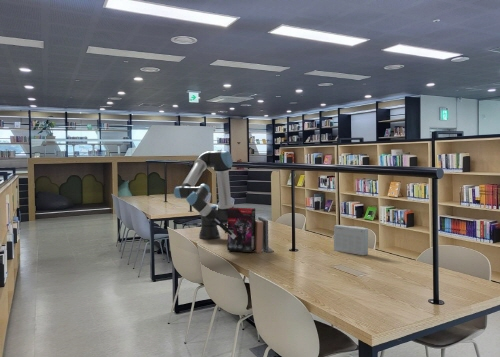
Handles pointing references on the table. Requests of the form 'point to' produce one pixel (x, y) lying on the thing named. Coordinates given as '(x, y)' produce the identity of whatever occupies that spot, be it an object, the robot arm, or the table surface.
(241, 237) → the graphics card box
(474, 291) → the table surface
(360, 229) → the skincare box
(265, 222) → the bookend
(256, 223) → the book
